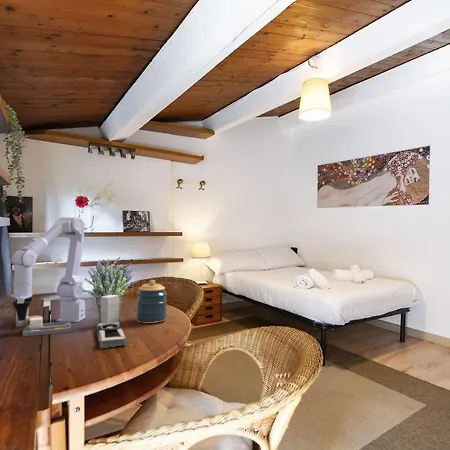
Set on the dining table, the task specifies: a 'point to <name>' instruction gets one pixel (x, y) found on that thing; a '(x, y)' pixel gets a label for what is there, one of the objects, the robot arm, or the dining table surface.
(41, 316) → the coaster
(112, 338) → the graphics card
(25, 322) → the clear grey cup
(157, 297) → the canister
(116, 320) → the skincare box
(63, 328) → the switch panel
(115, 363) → the dining table surface
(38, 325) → the switch tab
